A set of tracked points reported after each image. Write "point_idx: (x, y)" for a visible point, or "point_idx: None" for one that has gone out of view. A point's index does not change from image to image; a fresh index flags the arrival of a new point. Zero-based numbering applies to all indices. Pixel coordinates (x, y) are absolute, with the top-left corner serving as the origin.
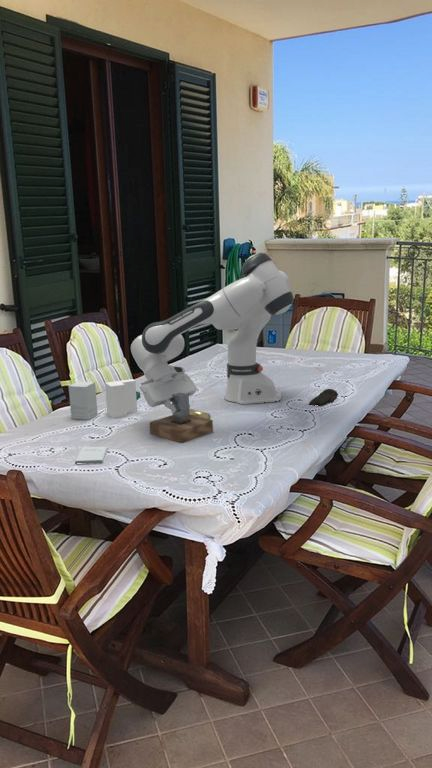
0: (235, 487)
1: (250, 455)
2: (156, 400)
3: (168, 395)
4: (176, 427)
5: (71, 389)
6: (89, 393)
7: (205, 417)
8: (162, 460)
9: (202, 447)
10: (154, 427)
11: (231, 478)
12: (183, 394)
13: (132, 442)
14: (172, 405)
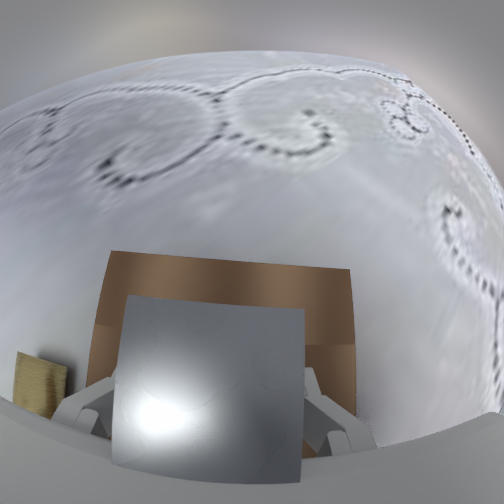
0: (384, 84)
1: (262, 96)
2: (495, 416)
3: (360, 476)
4: (325, 327)
5: None
6: None
7: (43, 360)
8: (445, 230)
9: (305, 199)
10: None
11: (372, 92)
12: (174, 353)
13: None
14: (322, 401)
